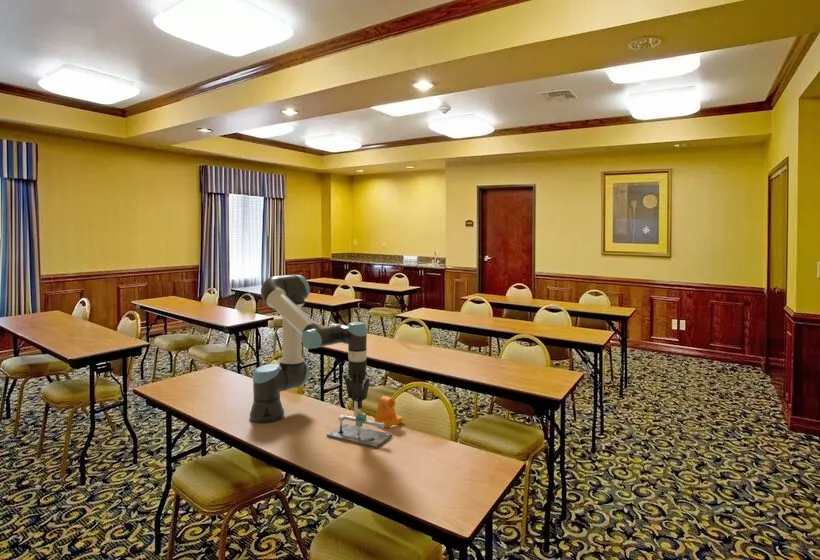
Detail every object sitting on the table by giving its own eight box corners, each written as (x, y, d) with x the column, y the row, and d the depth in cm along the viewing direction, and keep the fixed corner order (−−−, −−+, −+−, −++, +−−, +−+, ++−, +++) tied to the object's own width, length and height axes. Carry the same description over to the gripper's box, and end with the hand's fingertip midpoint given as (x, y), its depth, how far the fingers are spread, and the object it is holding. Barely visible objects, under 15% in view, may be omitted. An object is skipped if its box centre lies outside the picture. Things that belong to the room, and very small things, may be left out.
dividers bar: (337, 432, 201) (337, 416, 200) (342, 429, 204) (342, 413, 203) (380, 442, 191) (380, 425, 191) (384, 439, 194) (384, 422, 194)
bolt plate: (326, 436, 198) (326, 433, 198) (344, 425, 210) (344, 423, 210) (376, 448, 188) (376, 445, 188) (392, 436, 199) (392, 433, 199)
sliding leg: (355, 435, 197) (355, 413, 196) (361, 431, 201) (361, 410, 200) (360, 436, 196) (360, 414, 195) (366, 432, 199) (366, 411, 199)
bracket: (385, 429, 207) (385, 402, 206) (374, 424, 212) (374, 398, 211) (403, 423, 214) (403, 397, 213) (392, 418, 219) (392, 393, 218)
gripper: (339, 360, 196) (339, 415, 198) (365, 364, 190) (365, 421, 192) (349, 356, 203) (349, 410, 205) (375, 359, 197) (375, 415, 199)
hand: (357, 415), depth 198 cm, fingers closed
